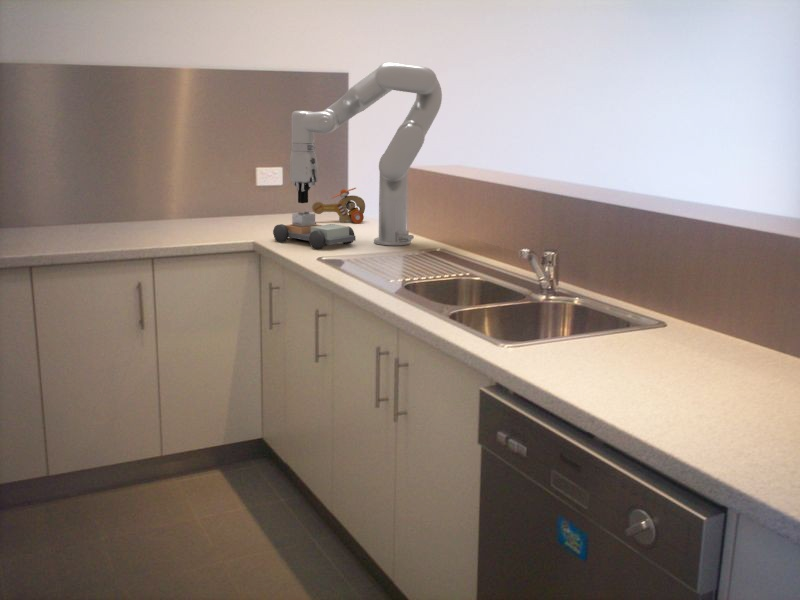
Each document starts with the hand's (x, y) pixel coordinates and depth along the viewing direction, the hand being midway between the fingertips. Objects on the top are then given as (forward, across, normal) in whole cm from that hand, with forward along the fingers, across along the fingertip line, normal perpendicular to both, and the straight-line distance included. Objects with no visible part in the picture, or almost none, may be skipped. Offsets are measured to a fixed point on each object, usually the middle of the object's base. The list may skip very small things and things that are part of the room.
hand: (303, 202), depth 300 cm
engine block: (+10, 0, 0) cm, 10 cm away
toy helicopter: (+13, +22, -40) cm, 48 cm away
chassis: (+13, -5, 0) cm, 14 cm away
